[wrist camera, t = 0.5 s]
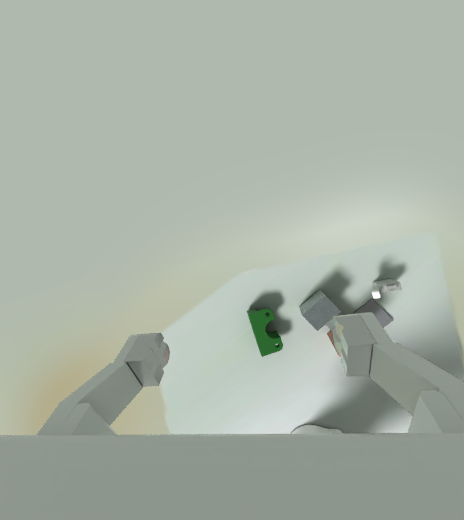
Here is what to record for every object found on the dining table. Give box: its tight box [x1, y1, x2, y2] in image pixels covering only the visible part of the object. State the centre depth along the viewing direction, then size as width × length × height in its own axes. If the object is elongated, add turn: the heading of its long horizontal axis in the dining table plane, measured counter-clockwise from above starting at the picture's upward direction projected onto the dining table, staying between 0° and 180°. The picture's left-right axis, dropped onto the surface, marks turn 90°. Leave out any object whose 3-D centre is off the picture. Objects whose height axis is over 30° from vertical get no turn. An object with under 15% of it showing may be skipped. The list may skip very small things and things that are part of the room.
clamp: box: [247, 308, 283, 356], centre depth 59 cm, size 12×6×9 cm, turn 12°
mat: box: [353, 299, 393, 328], centre depth 56 cm, size 7×7×1 cm
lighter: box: [372, 279, 401, 299], centre depth 51 cm, size 7×2×8 cm, turn 105°
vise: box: [299, 289, 341, 331], centre depth 54 cm, size 16×7×7 cm, turn 44°
